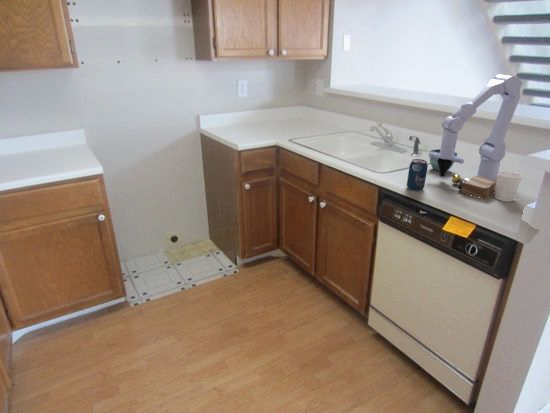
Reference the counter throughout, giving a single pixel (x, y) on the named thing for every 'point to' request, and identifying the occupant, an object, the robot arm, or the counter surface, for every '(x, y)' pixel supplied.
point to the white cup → (507, 185)
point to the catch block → (479, 187)
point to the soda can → (417, 174)
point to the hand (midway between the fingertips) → (442, 175)
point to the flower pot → (434, 160)
